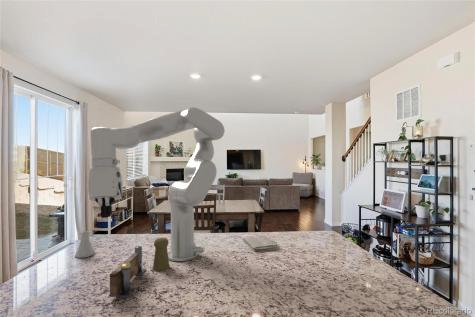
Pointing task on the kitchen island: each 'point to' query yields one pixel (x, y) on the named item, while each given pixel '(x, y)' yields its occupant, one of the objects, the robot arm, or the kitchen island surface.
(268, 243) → the washcloth
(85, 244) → the flask
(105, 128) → the robot arm
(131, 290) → the grey upright posts
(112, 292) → the brown wooden plank
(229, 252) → the kitchen island surface
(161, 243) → the olive rounded lobed piece
